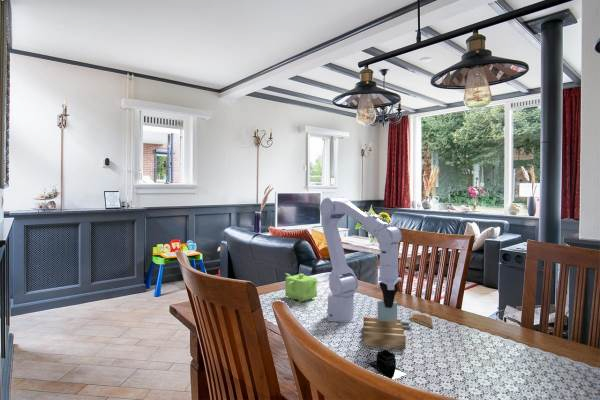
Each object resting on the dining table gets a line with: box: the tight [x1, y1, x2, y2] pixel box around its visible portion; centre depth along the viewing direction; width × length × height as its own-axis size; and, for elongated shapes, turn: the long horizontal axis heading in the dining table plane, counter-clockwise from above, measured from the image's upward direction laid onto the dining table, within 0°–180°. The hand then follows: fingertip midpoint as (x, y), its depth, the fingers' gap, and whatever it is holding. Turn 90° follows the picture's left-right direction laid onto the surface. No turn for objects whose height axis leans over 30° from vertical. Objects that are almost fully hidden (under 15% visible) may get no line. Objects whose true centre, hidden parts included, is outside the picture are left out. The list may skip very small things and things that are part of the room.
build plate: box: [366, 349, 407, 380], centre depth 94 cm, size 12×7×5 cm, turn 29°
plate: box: [377, 300, 398, 322], centre depth 115 cm, size 6×2×6 cm, turn 82°
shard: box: [409, 313, 434, 329], centre depth 126 cm, size 11×8×2 cm
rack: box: [362, 316, 407, 349], centre depth 113 cm, size 12×14×4 cm
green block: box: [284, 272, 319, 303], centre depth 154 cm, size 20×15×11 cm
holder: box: [400, 321, 412, 331], centre depth 122 cm, size 7×5×1 cm
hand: (388, 306), depth 115 cm, fingers closed on plate, 2 cm apart
